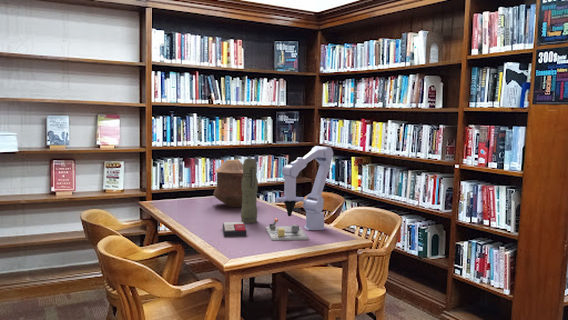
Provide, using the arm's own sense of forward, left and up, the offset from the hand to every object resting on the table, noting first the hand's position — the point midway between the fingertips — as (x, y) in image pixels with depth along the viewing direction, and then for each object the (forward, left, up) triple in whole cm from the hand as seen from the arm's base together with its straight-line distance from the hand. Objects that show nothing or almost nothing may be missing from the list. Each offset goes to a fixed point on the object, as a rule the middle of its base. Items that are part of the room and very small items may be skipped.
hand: (289, 215), depth 231 cm
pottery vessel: (+23, -72, -10) cm, 76 cm away
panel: (+1, 0, -9) cm, 9 cm away
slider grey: (-3, +1, -8) cm, 8 cm away
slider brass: (+6, +8, -8) cm, 12 cm away
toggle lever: (+7, -7, -7) cm, 12 cm away
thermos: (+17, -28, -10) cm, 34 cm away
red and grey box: (+27, -5, -10) cm, 29 cm away
